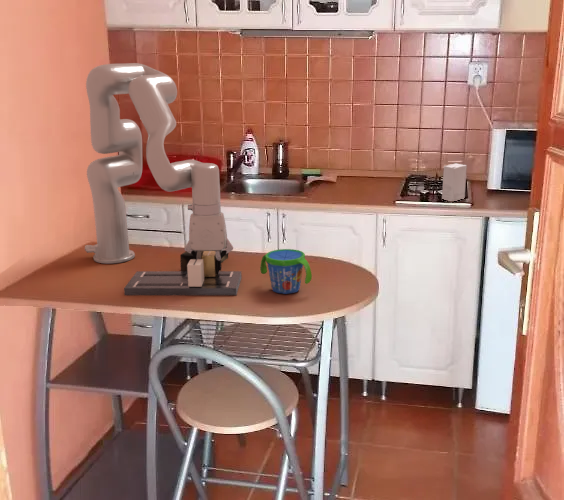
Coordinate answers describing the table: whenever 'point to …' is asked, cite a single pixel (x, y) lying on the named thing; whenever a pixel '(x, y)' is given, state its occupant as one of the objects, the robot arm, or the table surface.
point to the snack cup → (286, 269)
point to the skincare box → (454, 182)
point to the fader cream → (195, 273)
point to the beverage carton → (187, 256)
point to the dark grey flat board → (181, 283)
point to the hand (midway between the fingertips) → (210, 272)
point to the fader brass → (209, 263)
